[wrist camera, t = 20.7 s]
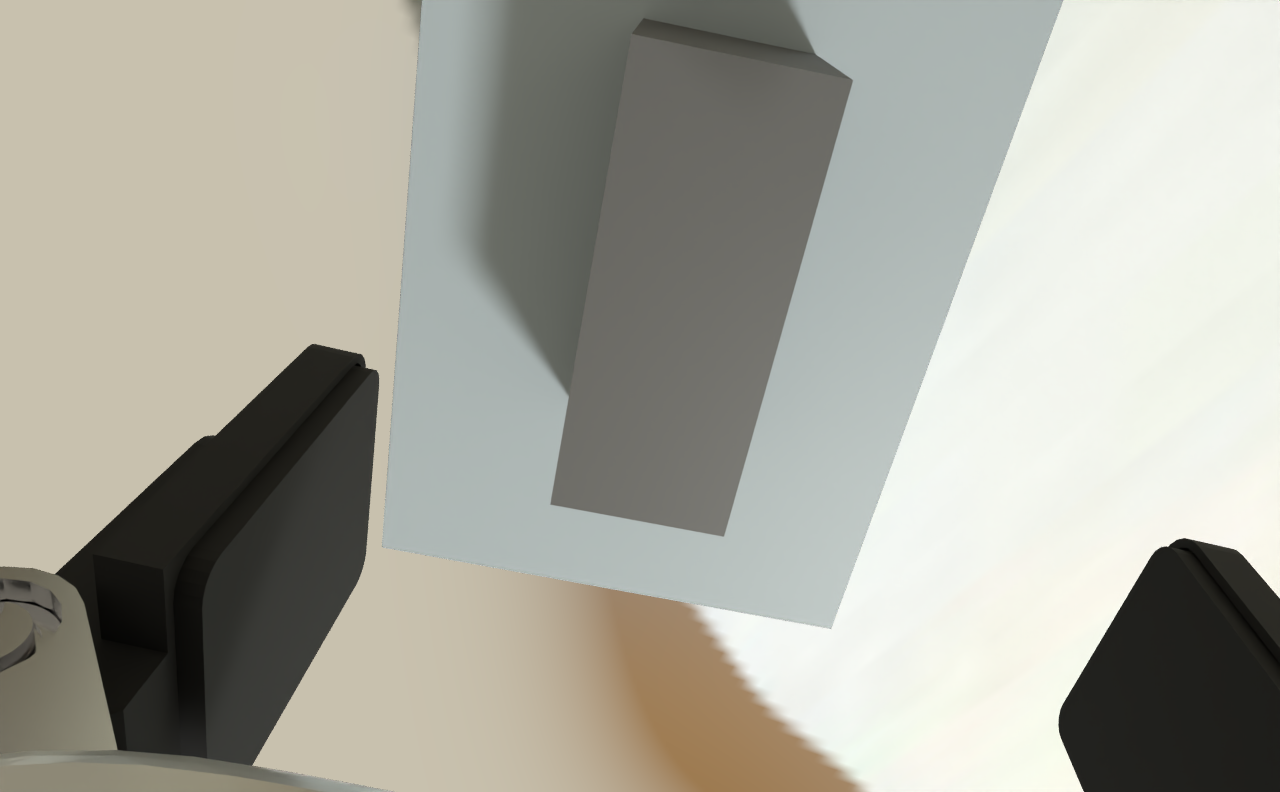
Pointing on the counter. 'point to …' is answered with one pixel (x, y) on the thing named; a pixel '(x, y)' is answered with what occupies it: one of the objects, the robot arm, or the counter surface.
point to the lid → (685, 279)
